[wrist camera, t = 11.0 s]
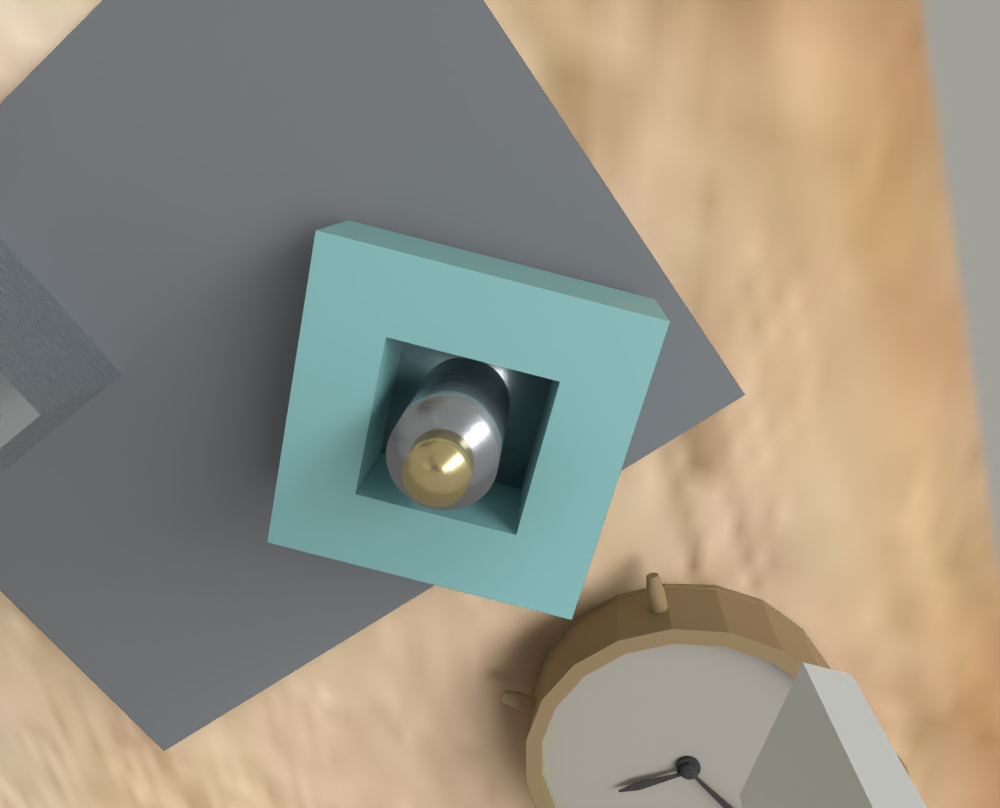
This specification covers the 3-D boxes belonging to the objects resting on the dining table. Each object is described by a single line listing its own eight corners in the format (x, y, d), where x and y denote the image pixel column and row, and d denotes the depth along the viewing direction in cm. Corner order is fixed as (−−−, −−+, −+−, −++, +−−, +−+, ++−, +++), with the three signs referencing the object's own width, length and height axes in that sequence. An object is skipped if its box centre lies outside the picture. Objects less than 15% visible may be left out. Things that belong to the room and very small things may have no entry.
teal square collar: (302, 496, 24) (267, 542, 21) (348, 220, 21) (315, 230, 18) (570, 564, 24) (571, 620, 21) (654, 298, 21) (669, 321, 18)
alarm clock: (698, 554, 22) (1038, 907, 22) (690, 502, 27) (971, 794, 27) (451, 750, 26) (750, 1059, 26) (483, 673, 30) (734, 934, 30)
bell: (293, 362, 23) (198, 435, 17) (494, 210, 21) (468, 231, 15) (445, 546, 25) (408, 672, 19) (644, 422, 23) (675, 517, 17)
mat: (-220, 345, 25) (-244, 351, 25) (339, -215, 19) (330, -231, 18) (174, 735, 30) (164, 751, 29) (738, 387, 23) (745, 394, 23)
